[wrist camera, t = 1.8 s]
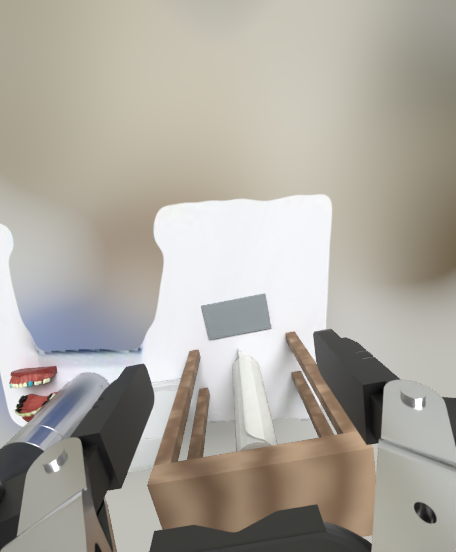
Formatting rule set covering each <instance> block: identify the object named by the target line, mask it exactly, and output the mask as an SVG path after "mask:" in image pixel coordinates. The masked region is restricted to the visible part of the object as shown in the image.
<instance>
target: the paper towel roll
mask: <svg viewBox="0 0 456 552" xmlns="http://www.w3.org/2000/svg"><path fill="white" fill-rule="evenodd" d="M238 356H239V358H238V359H237V360H236V361H235V363H234V365H233V385H234V409H235V434H236V452H238V451H243V450H249V449H255V448H261V447H267V446H273V445H278V444H277V440H276V436H275V432H274V427H273V423H272V419H271V415H270V410H269V406H268V402H267V398H266V394H265V389H264V385H263V381H262V377H261V372H260V368H259V365H258V362H257V361H256V360H255V359H254V358H253V357H252V356H250V355H249V354H246V353H243V352H241V351H240V350H239V349H238Z"/></svg>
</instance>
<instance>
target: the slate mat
mask: <svg viewBox="0 0 456 552" xmlns="http://www.w3.org/2000/svg"><path fill="white" fill-rule="evenodd" d="M201 307H202V311H203V316H204V320H205V324H206V328H207V333H208V337H209V340H212V339H217V338H223V337H228V336H233V335H238V334H244V333H249V332H254V331H260V330H265V329H270V328H271V324H270V318H269V312H268V307H267V301H266V295H265V294H260V295H255V296H249V297H244V298H239V299H234V300H229V301H224V302H219V303H214V304H208V305H203V306H201Z"/></svg>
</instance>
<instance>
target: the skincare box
mask: <svg viewBox="0 0 456 552" xmlns="http://www.w3.org/2000/svg"><path fill="white" fill-rule="evenodd" d="M180 381H181V378H180V379H174V380H167V381H161V382H154V383H151V384H152V387H153V390H154V396H155V400H154V406H153V409H152V411H151V414H150V417H149V419H148V422H147V424H146V427H145V429H144V432H143V434H142V437H141V439H140V442H139V445H138V447H137V450H136V452H135V455H134V457H133V460H132V462H131V465H130V467H129V470H128V473H132V472H138V471H145V470H151V469H153V466H154V463H155V459H156V456H157V453H158V450H159V447H160V444H161V440H162V437H163V434H164V431H165V428H166V425H167V422H168V418H169V415H170V412H171V409H172V406H173V403H174V399H175V396H176V393H177V390H178V387H179V384H180Z"/></svg>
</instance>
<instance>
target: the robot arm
mask: <svg viewBox="0 0 456 552" xmlns="http://www.w3.org/2000/svg"><path fill="white" fill-rule="evenodd" d="M313 337H314V346H315V354H316V362H317V366H318V370H319V372H320V374H321V376H322V378H323V379H324V381H325V382H326V384H327V385H328V387H329V388H330V390H331V391H332V393H333V394H334V396H335V398H336V399H337V401H338V402H339V404H340V405H341V407H342V408H343V410H344V411H345V413H346V414H347V416H348V417H349V419H350V420H351V422H352V423H353V425H354V427H355V428H356V430H357V431H358V433H359V434H360V436H361V437H362V439H363V440H364V442H365V443H366V445H370V444H376V443H379V445H378V459H377V475H376V489H375V505H374V520H373V535H372V544H371V543H370V542H369V541H367V540H366V539H364V538H362V537H361V536H359V535H358V534H356V533H354V532H352V531H350V530H348V529H346V528H344V527H341V526H338V525H335V524H332V523H328V522H323V520H322V517H321V514H320V511H319V508H318V505H317V504H315V505H309V506H303V507H297V508H291V509H285V510H279V511H276V512H274V513H272V514H270V515H268V516H266V517H264V518H263V519H261V520H259V521H257V522H255V523H253V524H252V525H250V526H248V527H246V528H244V529H242V530H241V531H238V532H228V531H223V530H218V529H213V528H208V527H203V526H198V525H188V526H182V527H176V528H170V529H164V530H158V531H154V534H153V539H152V543H151V547H150V551H149V552H456V398H447V397H441V396H440V395H439V394H438V393H436V392H435V391H434V390H433V389H431V388H429V387H427V386H425V385H423V384H420V383H417V382H414V381H409V380H400V379H399V378H398V377H397V376H396V375H395V374H393V373H392V372H391V371H390V370H389V369H388V368H386V367H385V366H384V365H383V364H382V363H381V362H380V361H378V360H377V359H376V358H375V357H373V355H371V354H370V353H369V352H368V351H366V349H364V348H363V347H362V346H361V345H360V344H359V343H357V342H355V341H353V340H351V339H348V338H340V337H339V336H338V335H337V334H336V333H335V332H334V331H333V330H332V329H327V330H321V331H316V332H314V334H313ZM154 400H155V396H154V390H153V387H152V384H151V381H150V377H149V374H148V371H147V368H146V366H145V365H144V364H139V365H134V366H128V367H126V368H125V369H124V371H123V372H122V373H121V375H120V376H119V378H118V379H117V380H115V381H114V382H113V383H111V384H110V385H109V384H108V383H107V381H106V380H105V379H104V378H103V377H101V376H100V375H97V374H95V373H82V374H80V375H78V376H77V377H75V378H74V379H73V380H72V381H71V382H68V383H67V384H66V385H65V386H64V387H63V388H62V389H61V390H60V391H58V392H57V393H56V394H55V395H54V396H53V397H52V398H51V399H50V400H49V401H48V402H47V403H46V404H45V405H44V406H43V407H41V408H40V409H39V410H38V411H37V412H36V413H35V415H34V418H32V419H31V420H30V421H29V422H28V423H27V424H26V425H25V426H24V427H23V428H22V429H21V430H20V431H19V432H18V433H17V434H16V435H15V436H14V437H13V438H12V439H11V440H10V441H9V442H7V443H6V445H4V446H3V447H2V448H1V449H0V552H117V550H116V545H115V540H114V535H113V530H112V525H111V520H110V515H109V510H108V505H107V502H106V500H105V494H106V492H107V491H108V490H114V489H120V488H122V485H123V483H124V480H125V478H126V475H127V473H128V470H129V467H130V465H131V462H132V460H133V457H134V455H135V452H136V450H137V447H138V445H139V442H140V439H141V437H142V434H143V432H144V429H145V427H146V424H147V422H148V419H149V417H150V414H151V411H152V409H153V406H154Z"/></svg>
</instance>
